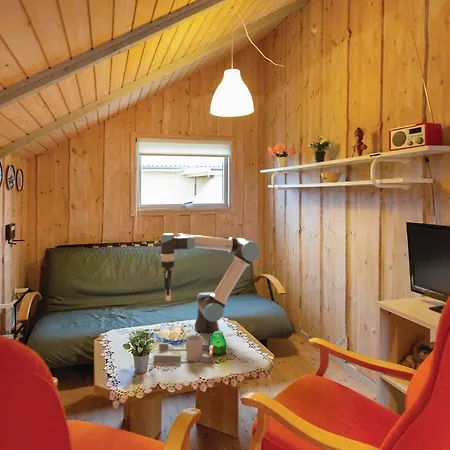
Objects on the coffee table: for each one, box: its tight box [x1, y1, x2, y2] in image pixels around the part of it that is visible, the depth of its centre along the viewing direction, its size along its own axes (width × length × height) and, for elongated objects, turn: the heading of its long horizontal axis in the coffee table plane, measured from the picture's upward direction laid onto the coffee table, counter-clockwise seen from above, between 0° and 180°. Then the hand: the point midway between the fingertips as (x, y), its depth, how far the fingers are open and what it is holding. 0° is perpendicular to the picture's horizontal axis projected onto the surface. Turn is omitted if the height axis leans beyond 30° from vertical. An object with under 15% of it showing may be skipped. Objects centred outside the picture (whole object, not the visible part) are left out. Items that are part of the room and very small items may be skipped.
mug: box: [186, 334, 204, 361], centre depth 215 cm, size 12×8×11 cm
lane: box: [153, 342, 214, 364], centre depth 216 cm, size 30×16×5 cm, turn 88°
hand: (168, 300), depth 235 cm, fingers closed
